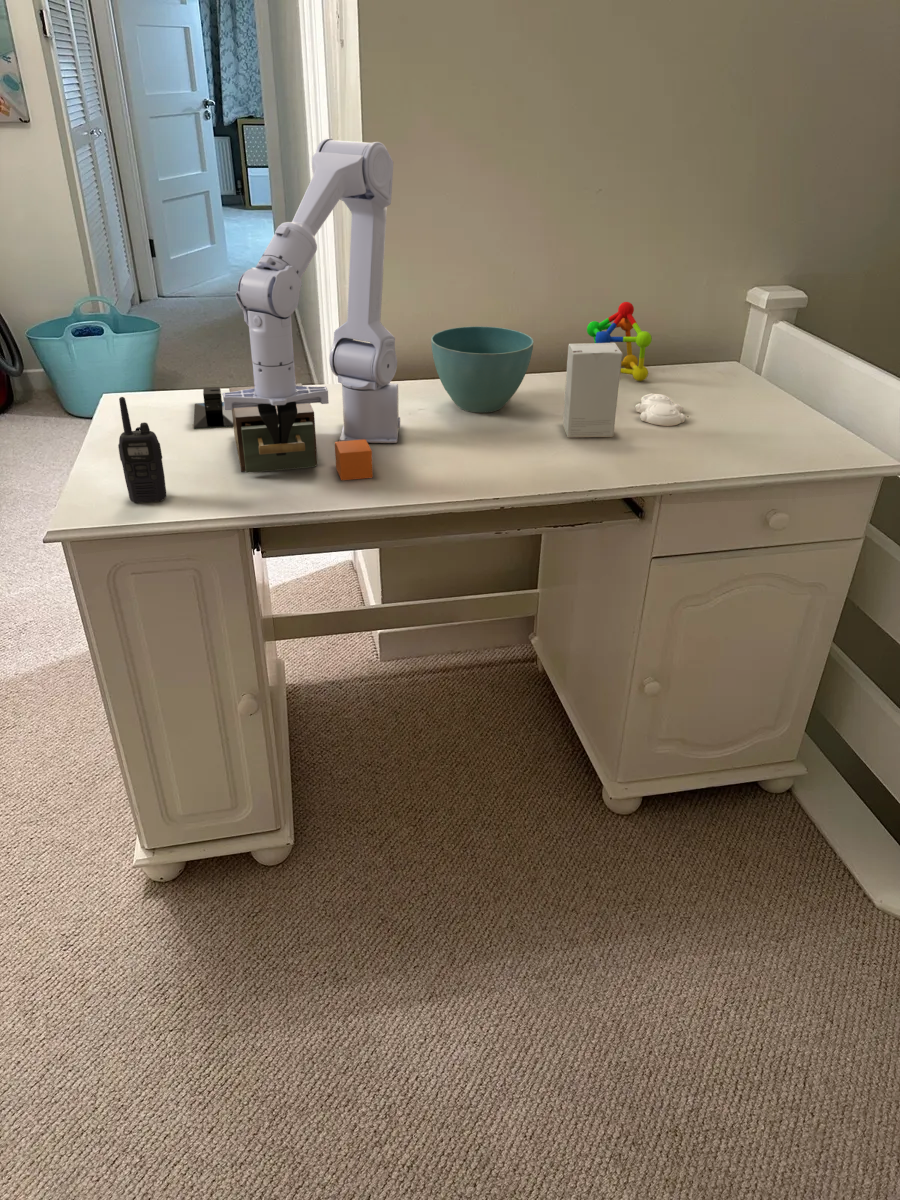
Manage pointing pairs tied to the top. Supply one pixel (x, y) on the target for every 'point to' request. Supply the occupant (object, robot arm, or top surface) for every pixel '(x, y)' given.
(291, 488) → the top surface
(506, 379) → the plant pot
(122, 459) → the two-way radio
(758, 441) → the top surface
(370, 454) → the block
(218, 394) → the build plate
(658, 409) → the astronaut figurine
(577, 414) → the cosmetic box
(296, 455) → the drawer
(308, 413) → the cabinet
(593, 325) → the educational toy
